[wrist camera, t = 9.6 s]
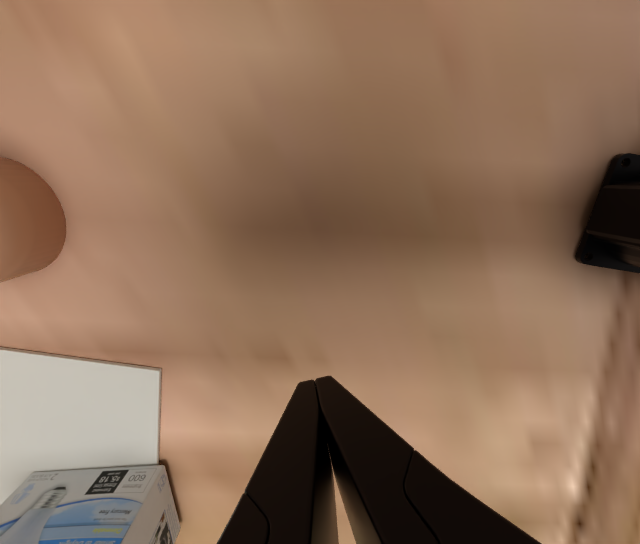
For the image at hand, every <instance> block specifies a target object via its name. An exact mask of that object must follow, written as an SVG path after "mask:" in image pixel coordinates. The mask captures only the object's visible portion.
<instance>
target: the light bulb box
mask: <svg viewBox="0 0 640 544" xmlns="http://www.w3.org/2000/svg"><path fill="white" fill-rule="evenodd" d="M179 531H180V523H179V519H178V515H177V512H176V508H175V504H174V500H173V496H172V492H171V488H170V484H169V480H168V476H167V473H166V469H165V466H164V465H155V466H136V467H118V468H102V469H84V470H66V471H49V472H34V473H32V474H31V475H30V476H29V477H28V478H27V479H26V480H25V481H24V482H23V483H22V484H21V485H20V486H19V487H18V488H17V489H16V490H15V491H14V492H13V493H12V494H11V495H10V496H9V497H8V498H7V499H6V500H5V501H4V502H3V503H2V504H1V505H0V544H174V543H175V541H176V538H177V536H178V533H179Z"/></svg>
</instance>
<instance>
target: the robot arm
mask: <svg viewBox="0 0 640 544" xmlns="http://www.w3.org/2000/svg"><path fill="white" fill-rule="evenodd" d="M622 160H624V164H623V166H622V165H621V162H622ZM587 253H588V256H587V257H586V258H585V255H586V254H587ZM576 260H577V261H578V262H580V263H583V264H586V265H592V266H598V267H605V268H611V269H617V270H624V271H630V272H636V273H640V155H636V154H630V153H628V154H619V155H616V156H615V157H614V158H613V160H612V161H611V164H610V166H609V169H608V172H607V174H606V177H605V179H604V182H603V185H602V187H601V190H600V193H599V195H598V198H597V200H596V203H595V206H594V208H593V211H592V213H591V216H590V219H589V221H588V224H587V226H586V229H585V232H584V234H583V237H582V240H581V242H580V245H579V247H578V250H577V253H576ZM315 383H316V384H315ZM327 443H328V444H327ZM328 448H329V449H328ZM329 453H330V454H329ZM330 458H331V459H330ZM331 462H332V464H331ZM332 467H333V470H332ZM333 471H334V475H335V478H336V482H337V485H338V488H339V491H340V494H341V497H342V500H343V503H344V507H345V510H346V513H347V516H348V519H349V522H350V525H351V528H352V531H353V534H354V537H355V541H356V544H541V543H540V542H538V541H537V540H535V539H534V538H533V537H531V536H530V535H528V534H527V533H525V532H524V531H523V530H521V529H520V528H518V527H517V526H515V525H514V524H513V523H511V522H510V521H508V520H507V519H505V518H504V517H503V516H501V515H500V514H498V513H497V512H495V511H494V510H493V509H491V508H490V507H488V506H487V505H485V504H484V503H483V502H481V501H480V500H478V499H477V498H475V497H474V496H473V495H471V494H470V493H469V492H467V491H466V490H465V489H463V488H462V487H460V486H459V485H458V484H456V483H455V482H454V481H452V480H451V479H450V478H448V477H447V476H446V475H445V474H444V473H442V472H441V471H440V470H439V469H437V468H436V467H435V466H434V465H433V464H431V463H430V462H429V461H428V460H427V459H426V458H424V457H423V456H422V455H421V454H420V453H419V452H418V451H416V450H415V451H414V448H413V447H412V446H411V445H409V444H408V443H407V442H406V441H405V440H404V439H403V438H401V437H400V436H399V435H398V434H397V433H396V432H395V431H393V430H392V429H391V428H390V427H389V426H388V425H387V424H385V423H384V422H383V421H382V420H381V419H380V418H378V417H377V416H376V415H375V414H374V413H373V412H372V411H370V410H369V409H368V408H367V407H366V406H365V405H364V404H362V403H361V402H360V401H359V400H358V399H357V398H356V397H354V396H353V395H352V394H351V393H350V392H349V391H348V390H346V389H345V388H344V387H343V386H342V385H341V384H340V383H338V382H337V381H336V380H335V379H334V378H333V377H332V376H325V377H321V378H317V379H316V380H315V381H314V380H308V381H303V382H299V383H298V385H297V387H296V389H295V391H294V393H293V395H292V397H291V399H290V401H289V403H288V405H287V407H286V409H285V411H284V413H283V415H282V417H281V419H280V421H279V423H278V425H277V427H276V429H275V431H274V433H273V435H272V437H271V439H270V441H269V443H268V445H267V447H266V449H265V451H264V453H263V455H262V457H261V459H260V461H259V463H258V465H257V467H256V469H255V471H254V473H253V475H252V477H251V479H250V481H249V483H248V485H247V487H246V489H245V493H244V494H242V496H241V498H240V500H239V502H238V504H237V506H236V508H235V510H234V512H233V514H232V516H231V518H230V520H229V522H228V524H227V525H226V527H225V529H224V531H223V533H222V535H221V537H220V538H219V540H218V542H217V544H339V542H338V529H337V516H336V503H335V490H334V479H333Z"/></svg>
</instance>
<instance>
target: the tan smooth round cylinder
mask: <svg viewBox="0 0 640 544" xmlns="http://www.w3.org/2000/svg"><path fill="white" fill-rule="evenodd" d="M65 238H66V221H65V216H64V212H63V209H62V207H61V204H60V202H59V200H58V198H57V196H56V195H55V193H54V192H53V190H52V189H51V188H50V186H49V185H48V184H47V183H46V182H45V181H44V180H43V179H42V178H41V177H40V176H39V175H38V174H36V173H35V172H34V171H33V170H31V169H30V168H28V167H26V166H25V165H23V164H21V163H19V162H16V161H13V160H11V159H7V158H3V157H0V282H3V281H6V280H9V279H13V278H16V277H19V276H22V275H25V274H28V273H31V272H34V271H38V270H41V269H43V268H45V267H47V266H48V265H49V264H51V263H52V262H53V261H54V260H55V259H56V258H57V257H58V255H59V254H60V252H61V250H62V248H63V246H64V242H65Z"/></svg>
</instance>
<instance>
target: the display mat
mask: <svg viewBox="0 0 640 544" xmlns="http://www.w3.org/2000/svg"><path fill="white" fill-rule="evenodd" d="M161 370H162V369H161V368H154V367H146V366H139V365H131V364H124V363H116V362H109V361H101V360H94V359H86V358H79V357H72V356H64V355H57V354H49V353H42V352H34V351H27V350H19V349H12V348H5V347H0V505H1V504H2V503H3V502H4V501H5V500H6V499H7V498H8V497H9V496H10V495H11V494H12V493H13V492H14V491H15V490H16V489H17V488H18V487H19V486H20V485H21V484H22V483H23V482H24V481H25V480H26V479H27V478H28V477H29V476H30V475H31V474H32V473H34V472H49V471H66V470H84V469H102V468H118V467H136V466H155V465H159V440H160V405H161Z"/></svg>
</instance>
